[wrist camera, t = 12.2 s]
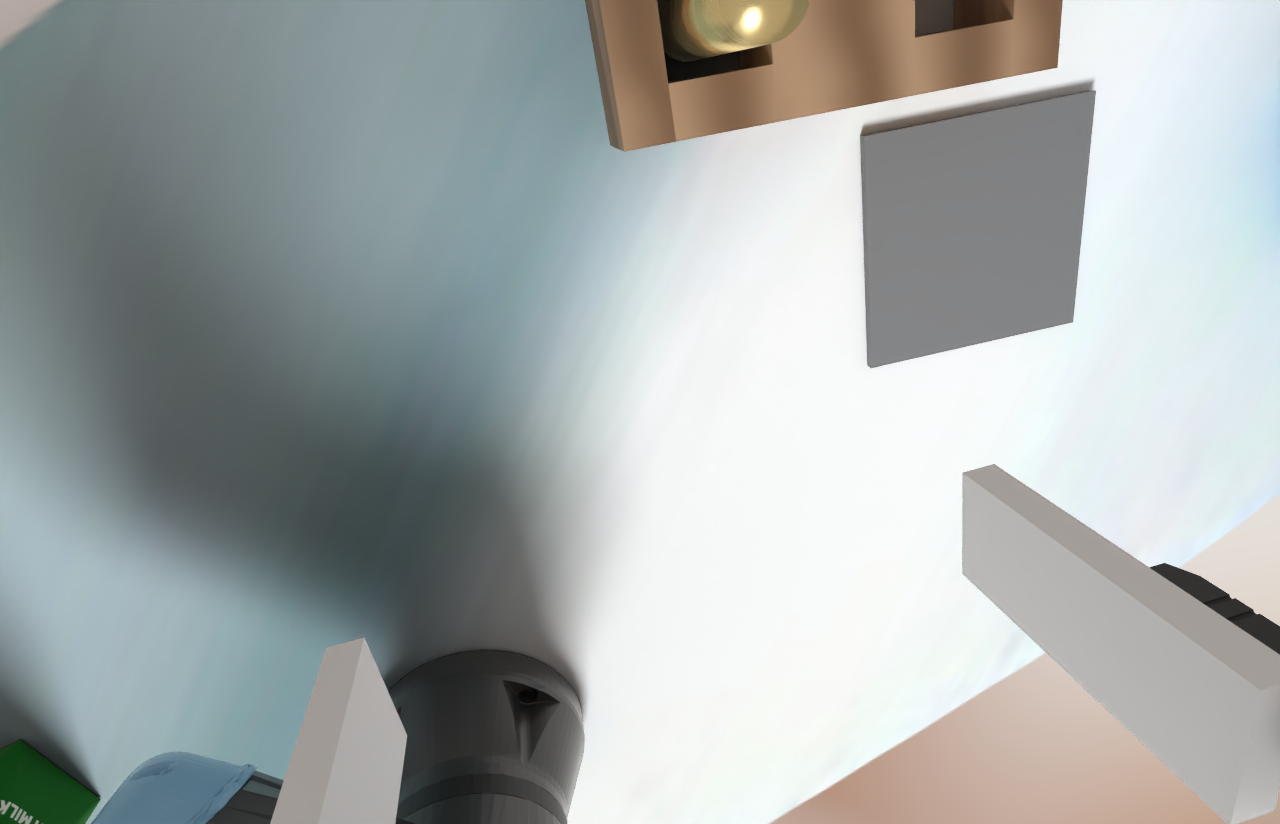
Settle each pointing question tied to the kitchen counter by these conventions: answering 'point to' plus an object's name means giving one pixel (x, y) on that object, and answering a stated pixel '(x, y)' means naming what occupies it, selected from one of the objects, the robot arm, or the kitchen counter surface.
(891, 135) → the mat
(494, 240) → the kitchen counter surface
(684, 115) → the hole block
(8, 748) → the milk carton
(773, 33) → the peg
